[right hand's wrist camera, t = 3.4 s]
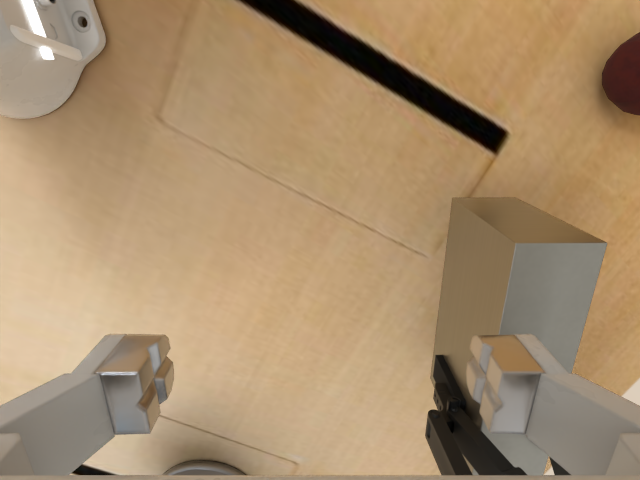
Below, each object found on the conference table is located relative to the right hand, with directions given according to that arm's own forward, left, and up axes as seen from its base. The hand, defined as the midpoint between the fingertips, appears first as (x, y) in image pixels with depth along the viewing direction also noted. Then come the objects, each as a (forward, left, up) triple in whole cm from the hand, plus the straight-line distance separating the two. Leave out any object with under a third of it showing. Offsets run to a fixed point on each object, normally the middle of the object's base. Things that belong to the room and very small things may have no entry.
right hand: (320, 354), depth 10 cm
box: (+13, +16, -27) cm, 34 cm away
